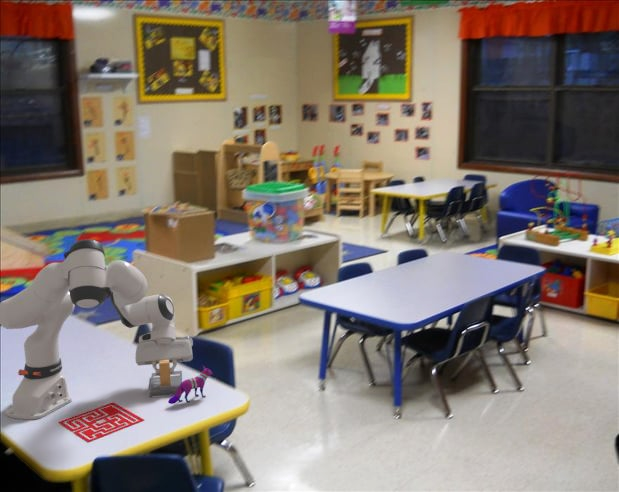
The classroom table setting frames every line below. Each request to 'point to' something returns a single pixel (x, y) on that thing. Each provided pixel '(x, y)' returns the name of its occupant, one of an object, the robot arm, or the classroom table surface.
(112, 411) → the maze puzzle
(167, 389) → the fader board
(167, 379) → the fader cap
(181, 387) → the purple fox figurine
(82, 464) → the classroom table surface
